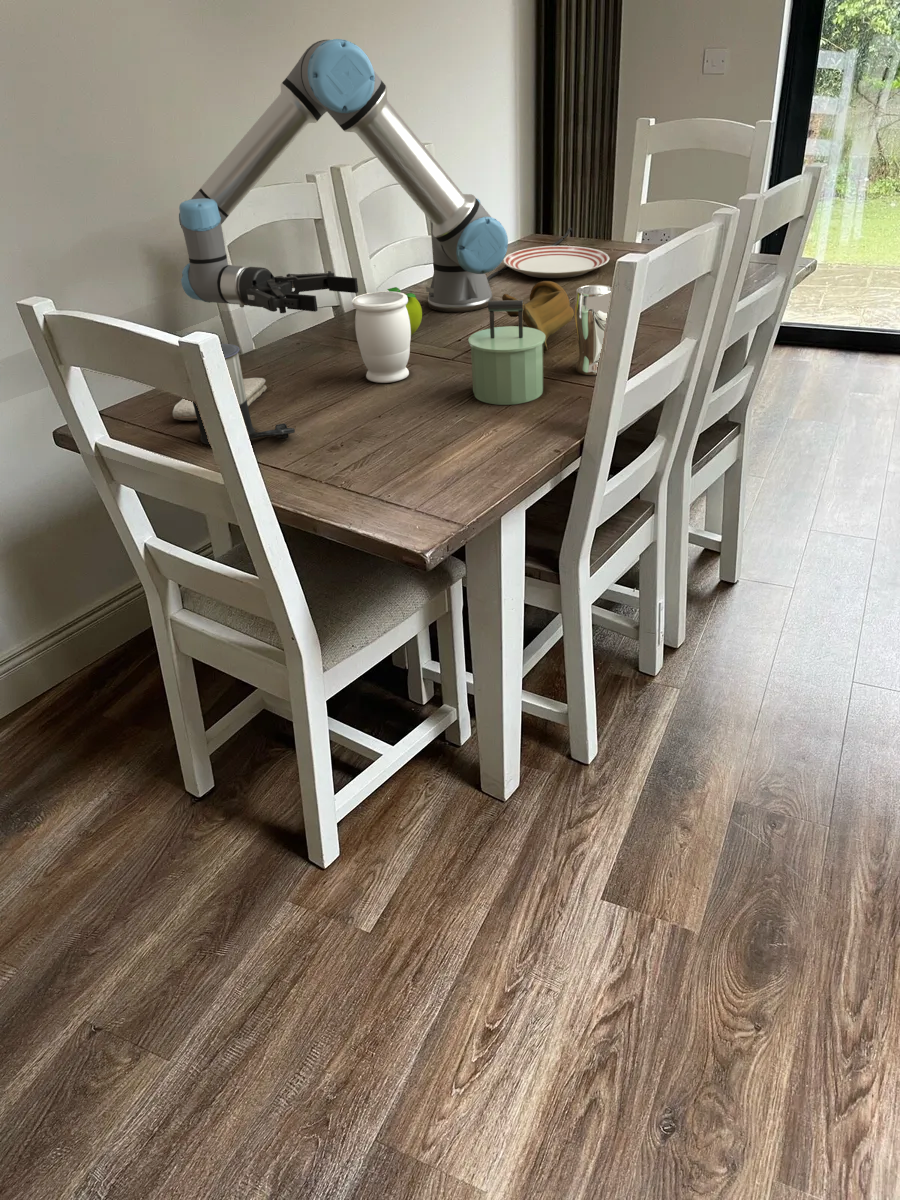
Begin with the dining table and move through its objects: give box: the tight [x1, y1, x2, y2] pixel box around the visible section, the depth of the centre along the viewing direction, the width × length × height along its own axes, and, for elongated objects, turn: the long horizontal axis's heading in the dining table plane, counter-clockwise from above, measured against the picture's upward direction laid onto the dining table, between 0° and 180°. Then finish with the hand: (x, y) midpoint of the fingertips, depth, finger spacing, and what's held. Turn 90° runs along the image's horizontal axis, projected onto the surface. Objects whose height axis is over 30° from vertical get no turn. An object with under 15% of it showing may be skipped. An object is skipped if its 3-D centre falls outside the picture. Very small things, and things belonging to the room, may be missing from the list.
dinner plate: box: [502, 245, 610, 279], centre depth 242 cm, size 27×27×3 cm
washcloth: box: [172, 377, 268, 422], centre depth 171 cm, size 12×18×3 cm, turn 170°
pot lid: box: [467, 299, 546, 353], centre depth 161 cm, size 14×14×8 cm
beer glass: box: [574, 284, 613, 376], centre depth 171 cm, size 7×7×15 cm
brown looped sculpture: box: [501, 280, 575, 354], centre depth 189 cm, size 18×13×22 cm
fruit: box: [386, 286, 423, 336], centre depth 198 cm, size 9×9×10 cm
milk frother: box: [192, 343, 296, 446], centre depth 153 cm, size 14×16×15 cm
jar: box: [351, 290, 412, 384], centre depth 175 cm, size 11×10×15 cm
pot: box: [470, 344, 545, 406], centre depth 166 cm, size 13×13×10 cm
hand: (336, 294), depth 176 cm, fingers open, 13 cm apart
